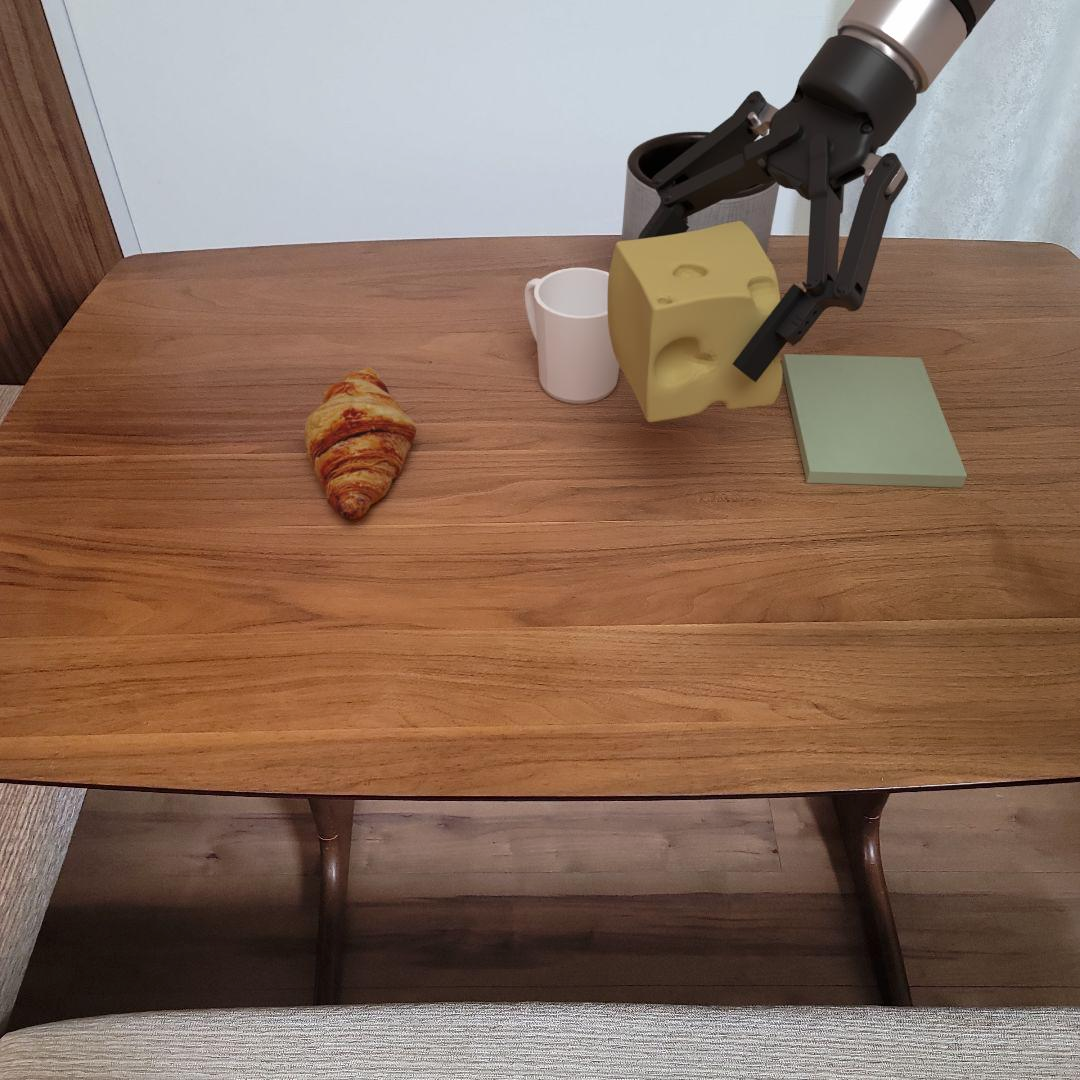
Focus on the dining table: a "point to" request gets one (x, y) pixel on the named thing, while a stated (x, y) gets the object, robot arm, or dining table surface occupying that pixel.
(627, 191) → the planter
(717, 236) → the cheese
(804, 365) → the board
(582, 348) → the mug
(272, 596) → the dining table surface
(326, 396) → the croissant
